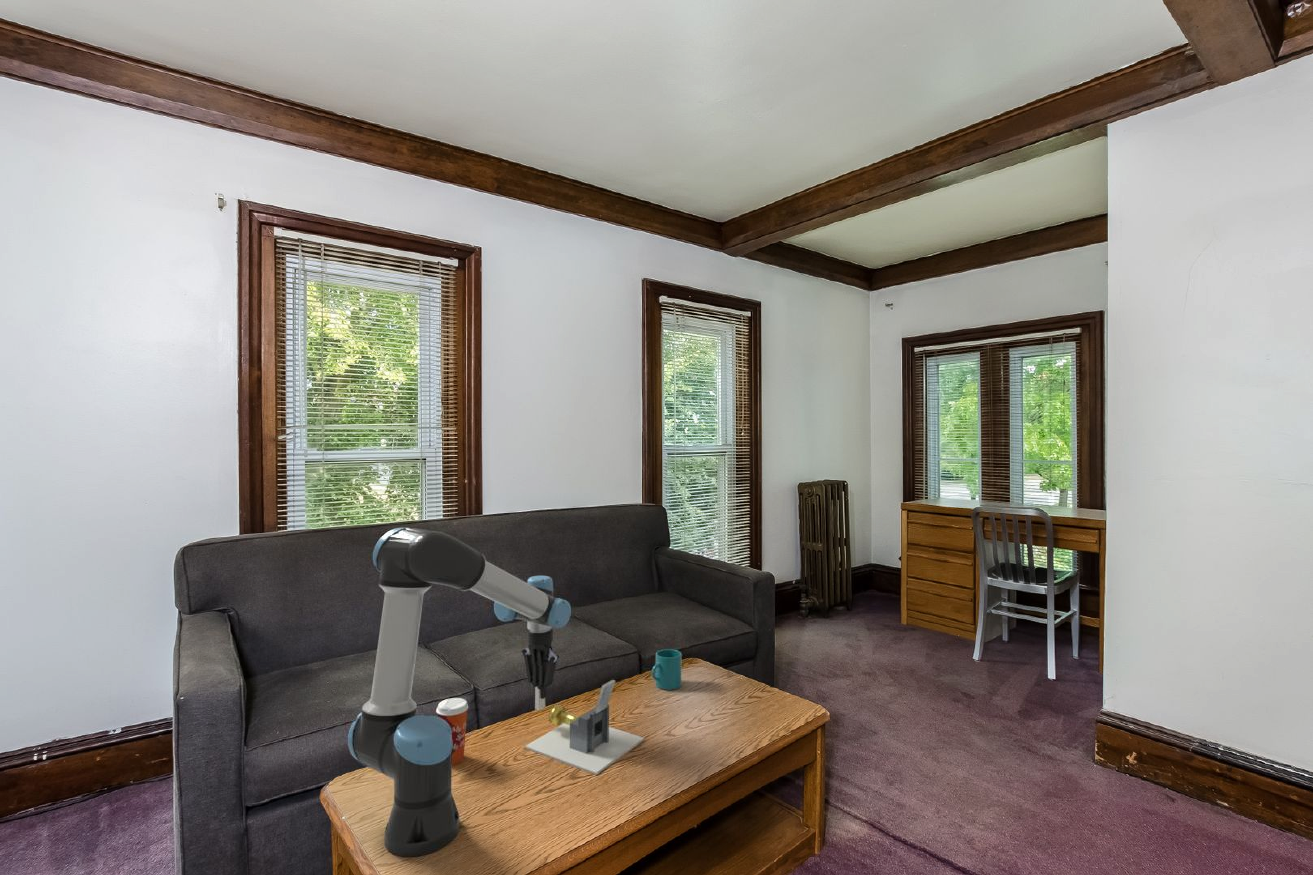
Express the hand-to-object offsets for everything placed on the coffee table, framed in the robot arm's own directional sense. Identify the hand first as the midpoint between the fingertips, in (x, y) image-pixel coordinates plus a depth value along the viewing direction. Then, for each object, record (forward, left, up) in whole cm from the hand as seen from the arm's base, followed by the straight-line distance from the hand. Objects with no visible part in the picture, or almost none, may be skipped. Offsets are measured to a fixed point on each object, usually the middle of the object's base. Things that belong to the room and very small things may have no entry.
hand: (540, 707), depth 182 cm
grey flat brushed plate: (0, -22, +5) cm, 23 cm away
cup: (+47, -15, -6) cm, 49 cm away
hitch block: (0, -19, -6) cm, 20 cm away
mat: (0, -17, -6) cm, 18 cm away
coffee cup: (-26, +7, -6) cm, 28 cm away
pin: (0, -12, -3) cm, 13 cm away
